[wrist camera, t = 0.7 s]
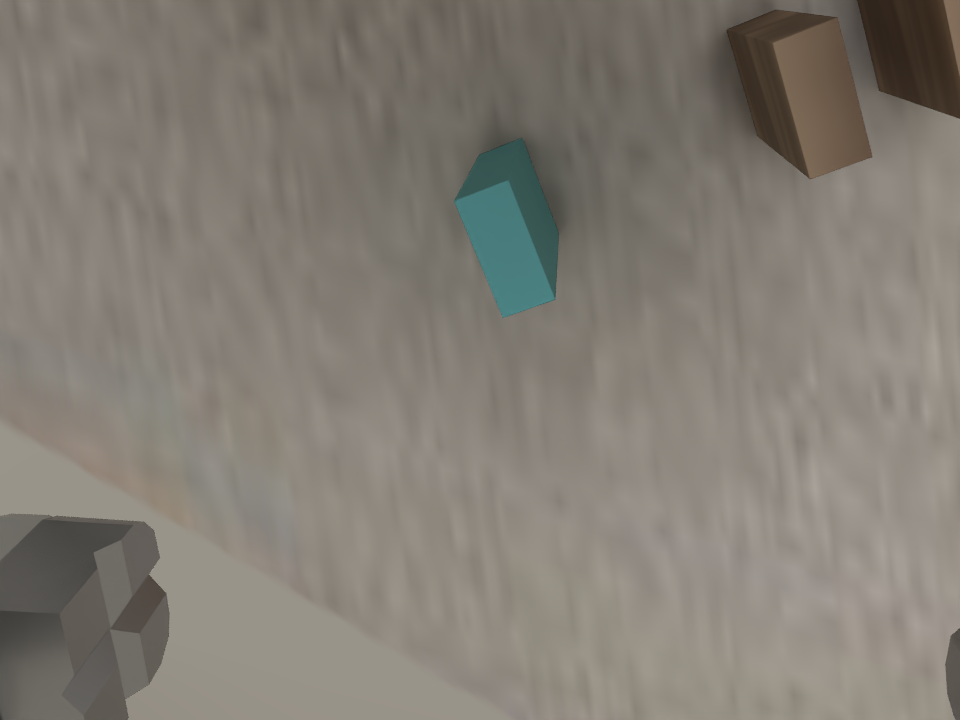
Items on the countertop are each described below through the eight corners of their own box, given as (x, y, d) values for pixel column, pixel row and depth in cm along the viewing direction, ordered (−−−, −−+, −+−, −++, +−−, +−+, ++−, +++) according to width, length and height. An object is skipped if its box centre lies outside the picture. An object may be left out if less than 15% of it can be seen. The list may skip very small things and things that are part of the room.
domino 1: (517, 249, 45) (502, 317, 36) (479, 154, 43) (454, 201, 34) (558, 234, 44) (555, 299, 35) (522, 137, 43) (508, 180, 34)
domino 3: (879, 90, 40) (969, 121, 31) (852, -22, 39) (938, -23, 30) (930, 71, 40) (1036, 97, 31) (904, -43, 38) (1009, -51, 29)
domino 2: (757, 136, 42) (810, 179, 33) (726, 29, 40) (772, 43, 31) (805, 118, 41) (872, 156, 32) (775, 9, 40) (837, 17, 30)
